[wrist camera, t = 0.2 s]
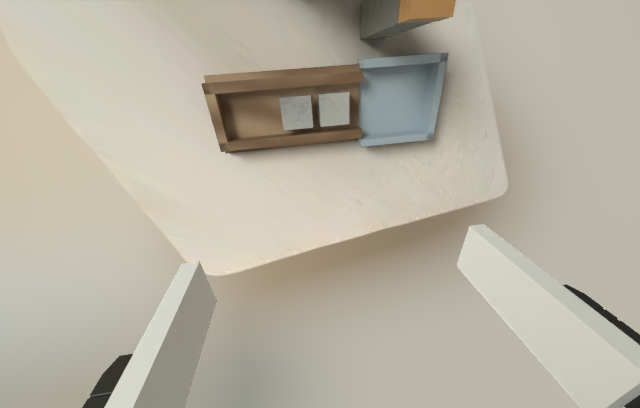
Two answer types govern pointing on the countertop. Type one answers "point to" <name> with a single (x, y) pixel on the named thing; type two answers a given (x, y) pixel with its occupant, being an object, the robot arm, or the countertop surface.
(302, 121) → the chip
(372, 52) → the countertop surface
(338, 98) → the chip
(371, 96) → the tray
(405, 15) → the grey and tan block
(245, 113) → the slot board
